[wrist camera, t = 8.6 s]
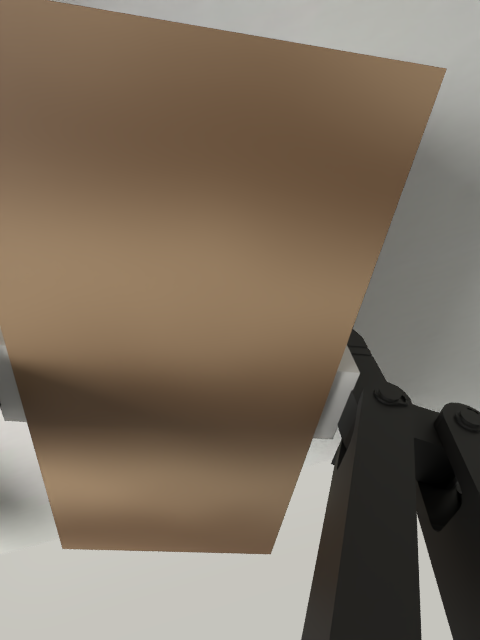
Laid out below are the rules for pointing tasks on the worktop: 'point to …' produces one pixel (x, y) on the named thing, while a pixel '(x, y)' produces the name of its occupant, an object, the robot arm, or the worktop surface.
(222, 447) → the brown wooden block
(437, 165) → the worktop surface
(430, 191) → the worktop surface
